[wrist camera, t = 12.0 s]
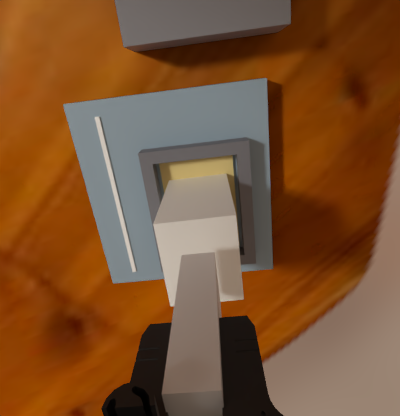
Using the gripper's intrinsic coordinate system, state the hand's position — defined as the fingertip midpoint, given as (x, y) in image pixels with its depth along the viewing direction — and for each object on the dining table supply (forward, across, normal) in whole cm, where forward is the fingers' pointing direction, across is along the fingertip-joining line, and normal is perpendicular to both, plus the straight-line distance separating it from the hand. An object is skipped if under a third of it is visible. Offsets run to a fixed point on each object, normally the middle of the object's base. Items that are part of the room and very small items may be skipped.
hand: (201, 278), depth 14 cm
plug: (+9, 0, 0) cm, 9 cm away
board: (+10, -2, +1) cm, 10 cm away
